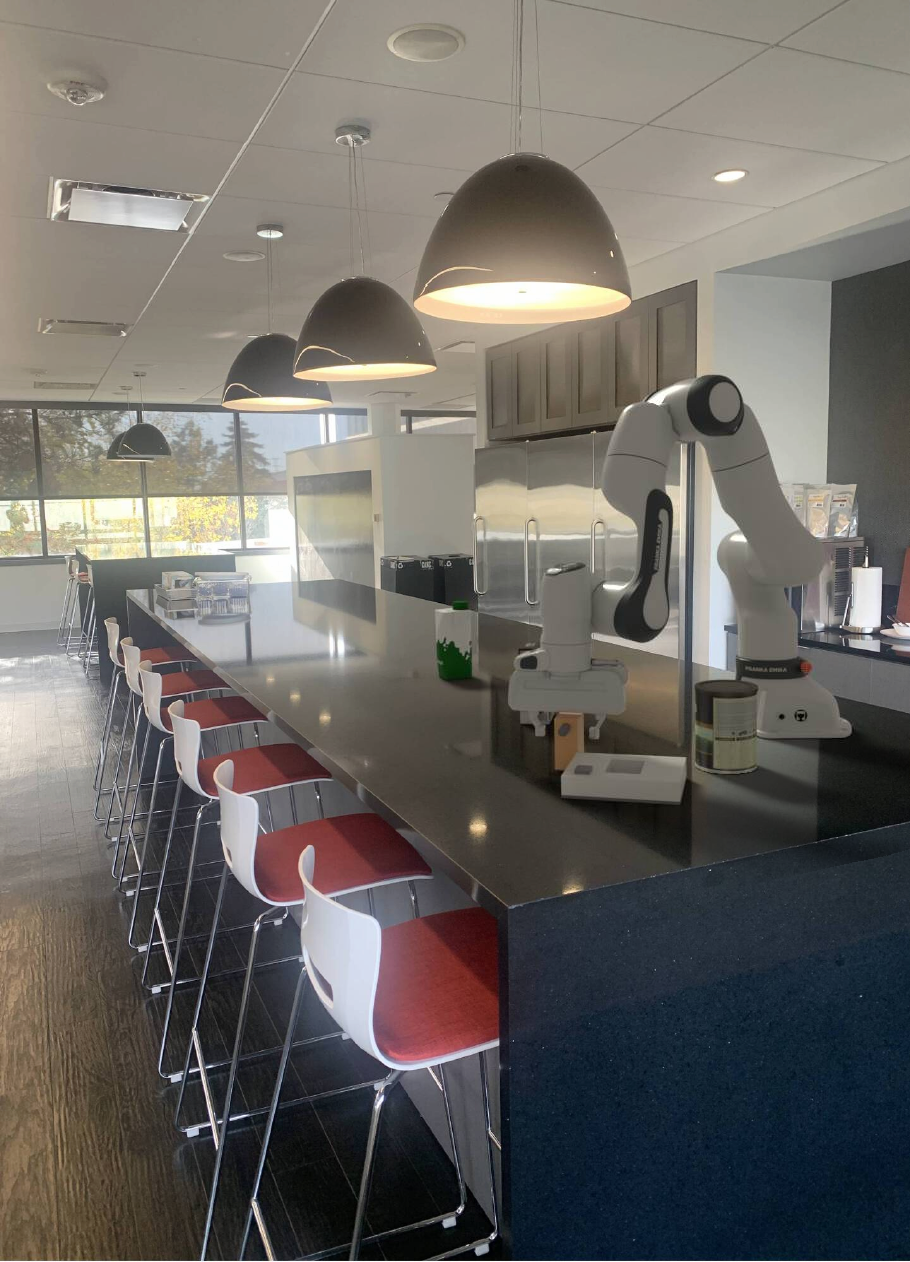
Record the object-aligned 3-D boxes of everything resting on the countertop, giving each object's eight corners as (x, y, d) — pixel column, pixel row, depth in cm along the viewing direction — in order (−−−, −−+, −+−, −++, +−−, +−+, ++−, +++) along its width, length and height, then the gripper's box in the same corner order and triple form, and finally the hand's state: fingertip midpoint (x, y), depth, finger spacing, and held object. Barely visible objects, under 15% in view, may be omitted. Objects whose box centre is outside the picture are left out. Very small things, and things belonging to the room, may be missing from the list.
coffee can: (684, 769, 160) (683, 687, 158) (710, 755, 168) (710, 677, 166) (742, 778, 153) (743, 693, 151) (767, 763, 161) (767, 682, 159)
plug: (584, 761, 167) (583, 711, 165) (575, 776, 158) (574, 723, 157) (561, 760, 168) (560, 710, 167) (551, 774, 159) (550, 722, 158)
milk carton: (476, 678, 248) (473, 602, 245) (443, 681, 245) (440, 604, 242) (466, 672, 256) (463, 599, 253) (434, 675, 254) (431, 601, 251)
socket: (686, 778, 155) (686, 753, 154) (680, 805, 141) (680, 778, 141) (577, 772, 160) (576, 748, 160) (561, 797, 147) (560, 772, 146)
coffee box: (525, 714, 205) (523, 641, 202) (554, 714, 203) (553, 640, 201) (519, 724, 196) (517, 647, 194) (550, 724, 194) (548, 647, 192)
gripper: (629, 656, 162) (629, 735, 164) (513, 653, 168) (515, 729, 170) (624, 662, 156) (625, 744, 158) (504, 659, 162) (506, 738, 164)
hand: (567, 736), depth 164 cm, fingers open, 8 cm apart
